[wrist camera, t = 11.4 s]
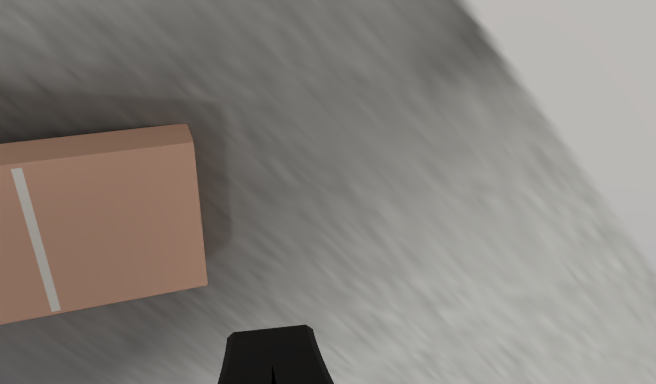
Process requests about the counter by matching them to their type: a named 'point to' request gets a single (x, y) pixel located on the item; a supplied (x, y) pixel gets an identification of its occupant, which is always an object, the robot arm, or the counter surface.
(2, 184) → the tile
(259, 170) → the counter surface
